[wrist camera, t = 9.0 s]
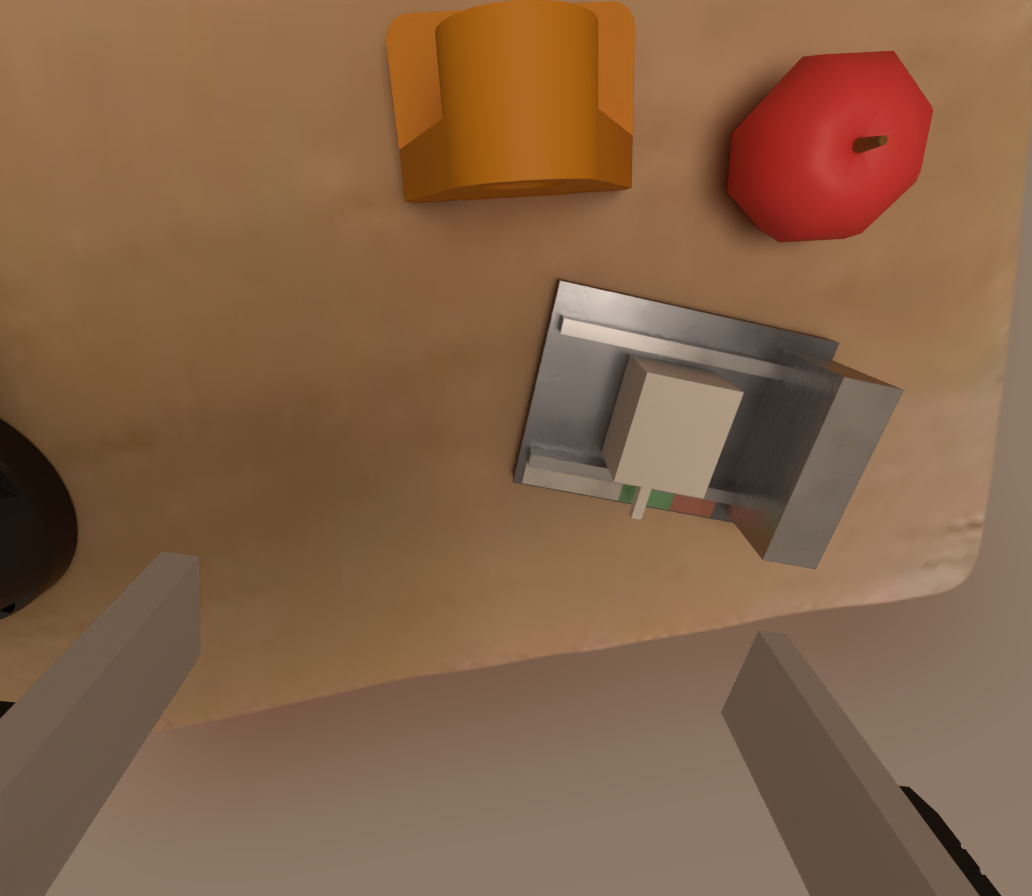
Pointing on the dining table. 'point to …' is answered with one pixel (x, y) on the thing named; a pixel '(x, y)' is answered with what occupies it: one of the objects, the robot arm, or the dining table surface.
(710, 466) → the cream block with peg
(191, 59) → the dining table surface
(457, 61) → the bracket
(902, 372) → the dining table surface
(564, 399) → the gauge base
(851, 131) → the apple
